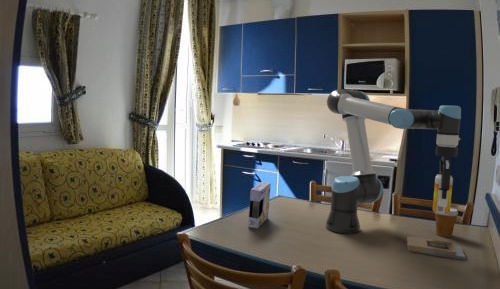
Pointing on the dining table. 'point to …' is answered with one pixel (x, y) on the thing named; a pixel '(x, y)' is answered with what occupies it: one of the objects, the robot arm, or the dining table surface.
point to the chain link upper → (421, 244)
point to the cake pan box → (259, 204)
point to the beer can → (437, 195)
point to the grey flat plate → (458, 254)
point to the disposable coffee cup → (446, 223)
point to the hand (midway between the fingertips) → (441, 204)
